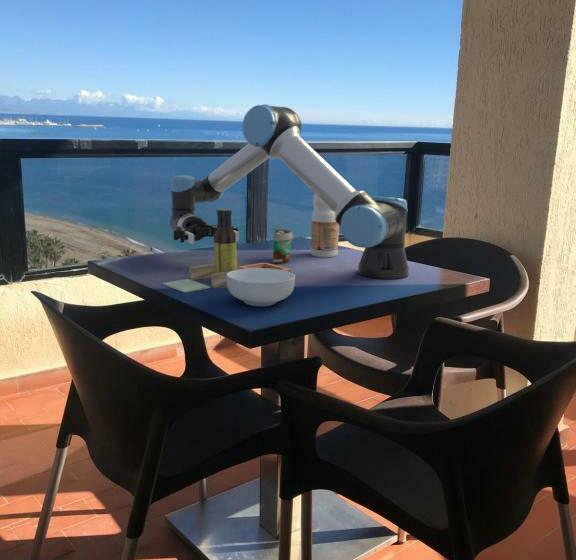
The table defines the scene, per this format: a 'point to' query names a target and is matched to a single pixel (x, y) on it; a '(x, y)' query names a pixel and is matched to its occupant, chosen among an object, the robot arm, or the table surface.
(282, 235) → the food container
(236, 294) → the cereal bowl
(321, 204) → the fruit juice
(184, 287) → the pad
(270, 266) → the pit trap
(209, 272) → the trough
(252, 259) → the table surface
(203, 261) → the table surface
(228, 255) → the sauce bottle
